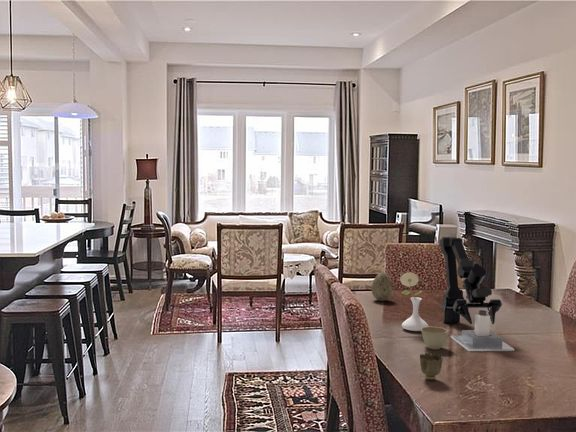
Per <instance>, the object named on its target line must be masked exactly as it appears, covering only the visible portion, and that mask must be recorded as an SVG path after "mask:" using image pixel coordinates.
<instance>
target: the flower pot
mask: <svg viewBox="0 0 576 432" xmlns="http://www.w3.org/2000/svg"><path fill="white" fill-rule="evenodd" d="M420 332H421V336H422V340H423V342H424V344H425V346H426V347H427V349H430V350H440V349H441V348H442V347H443V345H444V344H445V342H446V339H447V337H448V332H449V331H448V329H446V328H444V327H440V326H439V327H438V326H429V327H424V328H422V329H421V331H420Z"/></svg>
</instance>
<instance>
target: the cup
mask: <svg viewBox="0 0 576 432" xmlns="http://www.w3.org/2000/svg"><path fill="white" fill-rule="evenodd" d="M443 359H444V356H442V355H441V354H439V353H435V354H434V353H433V352H432V353H429V352H425V353H422V354H421V353H420V354H419V362H420V369H421V370H420V371H421V372H422V373H423V375H424V379H425V380H427V381H430V382H431V381H435V380H436V379H437V376H438V375H439V374H440V373H441V370H442V366H443Z"/></svg>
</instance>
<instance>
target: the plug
mask: <svg viewBox="0 0 576 432" xmlns="http://www.w3.org/2000/svg"><path fill="white" fill-rule="evenodd" d="M490 327H491V319H490V316H489V314H487V310H483V309H481V310H480V309H479V310H478V313H474V329H473V330H474V334H475V335H477V336H489V333H490V330H491V328H490Z"/></svg>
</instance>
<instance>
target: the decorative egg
mask: <svg viewBox="0 0 576 432" xmlns="http://www.w3.org/2000/svg"><path fill="white" fill-rule="evenodd" d="M371 293H372V296H373V297H374V299H375V300H377V301H380V302H385V301H387V300H389V299H390V297H391V296H392V294H393V283H392V280H391V277H389V275H388V274H387V273H386V272H383V271H382V272H380V273H378V274H377V275H376V276H375V278H373V281H372V284H371Z"/></svg>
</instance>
